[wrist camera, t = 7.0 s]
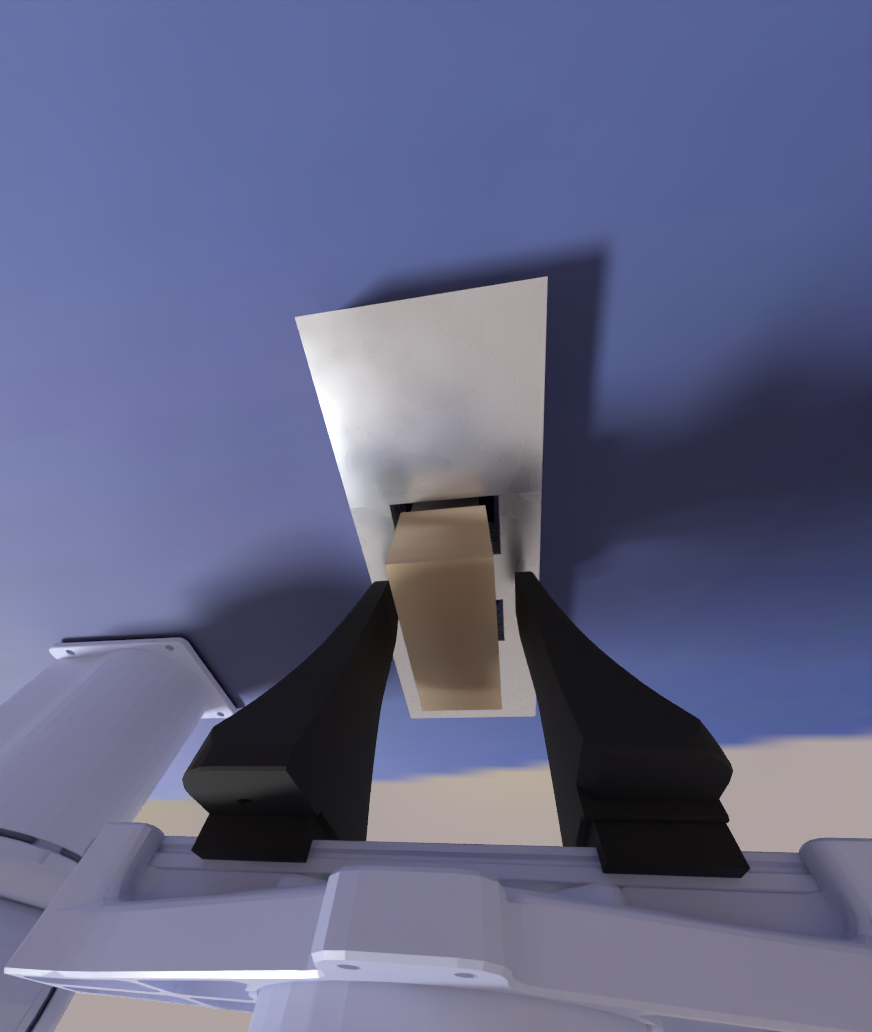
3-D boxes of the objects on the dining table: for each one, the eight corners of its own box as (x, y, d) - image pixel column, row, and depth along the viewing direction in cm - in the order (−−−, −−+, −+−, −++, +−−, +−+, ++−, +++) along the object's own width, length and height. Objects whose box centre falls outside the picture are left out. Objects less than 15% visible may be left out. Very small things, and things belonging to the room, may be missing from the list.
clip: (432, 599, 18) (422, 711, 13) (411, 479, 14) (384, 564, 9) (488, 595, 17) (502, 709, 12) (480, 472, 14) (493, 557, 9)
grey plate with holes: (415, 678, 21) (411, 718, 19) (325, 319, 12) (294, 317, 9) (526, 675, 20) (535, 716, 18) (529, 287, 11) (547, 276, 9)
